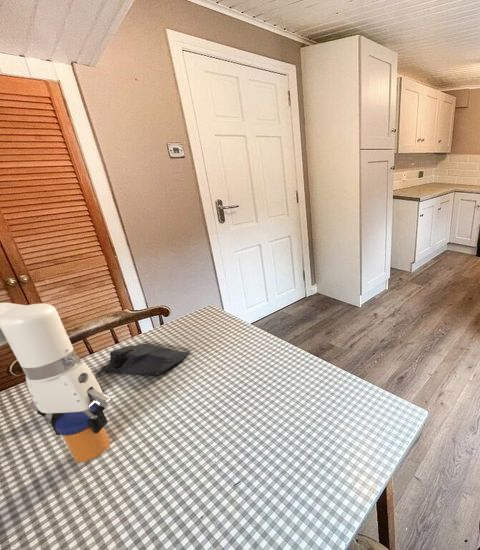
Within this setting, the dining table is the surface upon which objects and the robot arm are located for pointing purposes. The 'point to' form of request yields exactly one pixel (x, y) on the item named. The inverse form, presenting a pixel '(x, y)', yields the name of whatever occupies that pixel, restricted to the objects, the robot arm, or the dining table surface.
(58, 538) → the dining table surface
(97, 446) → the jar
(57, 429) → the lid
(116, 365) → the dark slate chunk
